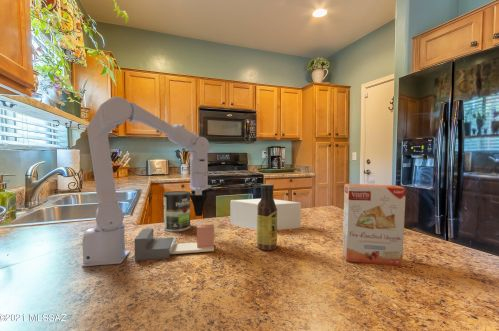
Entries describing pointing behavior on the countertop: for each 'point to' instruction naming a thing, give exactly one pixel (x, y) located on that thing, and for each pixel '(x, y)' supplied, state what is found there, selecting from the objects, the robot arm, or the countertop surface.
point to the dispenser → (152, 246)
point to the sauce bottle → (267, 219)
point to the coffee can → (176, 211)
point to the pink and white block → (198, 241)
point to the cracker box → (374, 223)
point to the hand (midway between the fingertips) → (199, 212)
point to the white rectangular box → (247, 213)
